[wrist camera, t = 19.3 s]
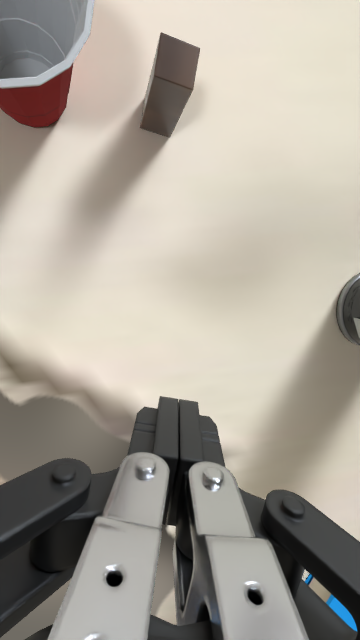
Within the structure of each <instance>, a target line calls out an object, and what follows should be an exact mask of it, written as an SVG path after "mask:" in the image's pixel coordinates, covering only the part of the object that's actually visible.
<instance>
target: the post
mask: <svg viewBox="0 0 360 640" xmlns="http://www.w3.org/2000/svg"><path fill="white" fill-rule="evenodd" d="M199 52H200V48H198V47H196V46H194V45H191V44H189V43H186V42H184V41H181V40H179V39H176V38H174V37H171V36H169V35H167V34H164V33H161V34H160V38H159V42H158V46H157V50H156V54H155V58H154V62H153V66H152V71H151V75H150V79H149V83H148V87H147V91H146V95H145V101H144V107H143V113H142V119H141V125H140V128H142V129H145V130H148V131H151V132H154V133H157V134H160V135H164V136H167V137H170V136H171V134H172V132H173V130H174V128H175V126H176V124H177V122H178V120H179V118H180V115H181V113H182V111H183V109H184V107H185V105H186V103H187V101H188V99H189V97H190V95H191V93H192V91H193V87H194V81H195V75H196V70H197V64H198V58H199Z"/></svg>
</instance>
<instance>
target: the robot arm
mask: <svg viewBox="0 0 360 640" xmlns="http://www.w3.org/2000/svg"><path fill="white" fill-rule="evenodd" d="M337 320H338V324H339V327H340V329H341V331H342V333H343V335H344V336H345V337H346V338H347V339H348V340H349V341H350V342H352V343H354V344H356V345H360V273H359V274H358V275H356V276H354V277H353V278H352V279H351V280H350V281H349V282H348V283H347V284H346V286H345V287H344V289H343V290H342V292H341V295H340V297H339V300H338V305H337ZM167 512H168V520H167V525H173V526H176V536H175V541H174V546H173V568H174V585H175V601H176V618H177V625H173V624H171V623H169V622H166V621H164V620H162V619H160V618H157V617H155V616H153V615H151V608H152V600H153V593H154V585H155V578H156V571H157V565H158V557H159V550H160V542H161V536H162V528H161V527H162V524H165V523H166V517H167ZM305 569H306V570H307V571H308V572H309V573H310V574H311V575H312V576H313V577H314V578H315V579H316V580H317V581H318V582H319V583H320V584H321V585H322V586H323V587H324V588H325V589H327V590H328V591H329V592H330V593H331V594H332V595H333V596H334V597H335V598H336V599H337V600H338V601H339V602H340V603H341V604H342V605H343V606H344V607H345V608H346V609H347V610H348V611H349V613H350V614H351V616H352V617H353V619H354V621H355V624H356V627H357V631H355V630H353V629H352V628H351V627H350V626H348V625H347V624H346V623H345V622H344V621H343V620H342V619H341V618H340V617H339V616H338V615H337V614H336V613H335V612H334V611H333V610H332V609H331V608H330V607H329V606H328V605H327V604H326V603H325V602H324V601H323V600H322V599H321V598H320V597H319V596H318V595H317V594H316V593H315V592H314V591H313V590H312V589H311V588H310V587H309V586H308V585H307V584H306V583H305V582H304V581H303V580H302V576H303V573H304V570H305ZM70 578H72V579H71V581H70V584H69V586H68V589H67V591H66V594H65V596H64V599H63V601H62V604H61V606H60V609H59V612H58V614H57V617H56V619H55V622H54V624H52V625H50V626H48V627H46V628H44V629H42V630H40V631H38V632H36V633H35V634H33V635H31V636H30V637H28V638H27V639H25V640H360V542H359V541H358V540H356V539H355V538H354V537H353V536H351V535H350V534H349V533H347V532H346V531H345V530H344V529H342V528H341V527H340V526H338V525H337V524H336V523H335V522H333V521H332V520H331V519H329V518H328V517H327V516H326V515H324V514H323V513H322V512H321V511H319V510H318V509H317V508H315V507H314V506H313V505H312V504H310V503H309V502H308V501H306V500H305V499H304V498H302V497H301V496H299V495H297V494H295V493H293V492H290V491H286V490H273V491H271V492H270V493H268V495H267V497H266V500H264V499H261V498H259V497H256V496H254V495H251V494H249V493H247V492H245V491H243V490H241V489H240V488H239V487H238V485H237V482H236V479H235V477H234V476H233V474H232V473H231V472H230V471H229V470H228V469H226V468H225V463H224V458H223V454H222V449H221V444H220V440H219V436H218V431H217V426H216V424H215V423H214V422H213V420H212V419H211V418H210V417H208V416H201V415H199V408H198V402H194V401H188V400H181V399H179V402H178V399H175V398H168V397H162V396H160V398H159V404H158V409H155V408H149V407H144V408H143V409H141V410H140V411H139V412H138V413H137V417H136V421H135V425H134V430H133V433H132V438H131V442H130V446H129V450H128V454H127V457H126V458H125V459H124V460H123V461H122V463H121V466H120V467H118V468H117V469H115V470H112V471H109V472H105V473H98V474H91V470H90V468H89V467H88V466H87V465H86V464H85V463H84V462H82V461H80V460H76V459H70V458H64V459H57V460H54V461H51V462H49V463H47V464H44V465H42V466H40V467H38V468H36V469H34V470H32V471H30V472H27V473H25V474H23V475H21V476H19V477H17V478H15V479H13V480H11V481H8V482H6V483H4V484H2V485H0V637H2V636H3V635H4V634H5V633H6V632H8V631H9V630H10V629H11V628H12V627H13V626H15V625H16V624H17V623H18V622H19V621H21V620H22V619H23V618H24V617H25V616H27V615H28V614H29V613H30V612H31V611H33V610H34V609H35V608H36V607H37V606H38V605H40V604H41V603H42V602H43V601H45V600H46V599H47V598H48V597H49V596H50V595H52V594H53V593H54V592H55V591H56V590H58V589H59V588H60V587H61V586H62V585H64V584H65V583H66V582H67V581H68V580H70Z"/></svg>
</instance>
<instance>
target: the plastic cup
mask: <svg viewBox="0 0 360 640" xmlns="http://www.w3.org/2000/svg"><path fill="white" fill-rule="evenodd" d="M93 7H94V0H0V108H1V109H2V110H3V111H4V112H5V113H6V114H8V115H9V116H10V117H12V118H13V119H15V120H16V121H18V122H19V123H21V124H24V125H28V126H31V127H44V126H49V125H50V124H52V123H54V122H55V121H57V120H58V119H59V117H60V116H61V114H62V113H63V111H64V109H65V108H66V103H67V96H68V93H69V88H70V81H71V74H72V68H73V62H74V60H75V58H76V57H77V55H78V54H79V52H80V50H81V49H82V47H83V45H84V44H85V42H86V40H87V39H88V37H89V35H90V31H91V23H92V15H93Z"/></svg>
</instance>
